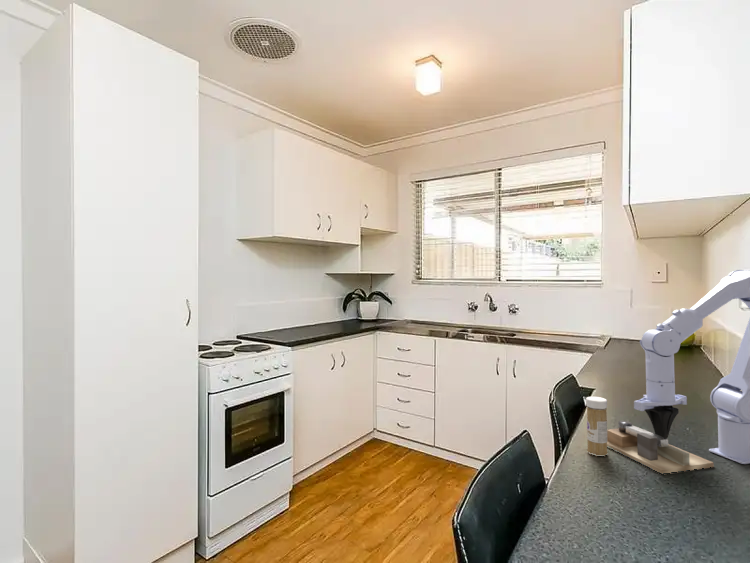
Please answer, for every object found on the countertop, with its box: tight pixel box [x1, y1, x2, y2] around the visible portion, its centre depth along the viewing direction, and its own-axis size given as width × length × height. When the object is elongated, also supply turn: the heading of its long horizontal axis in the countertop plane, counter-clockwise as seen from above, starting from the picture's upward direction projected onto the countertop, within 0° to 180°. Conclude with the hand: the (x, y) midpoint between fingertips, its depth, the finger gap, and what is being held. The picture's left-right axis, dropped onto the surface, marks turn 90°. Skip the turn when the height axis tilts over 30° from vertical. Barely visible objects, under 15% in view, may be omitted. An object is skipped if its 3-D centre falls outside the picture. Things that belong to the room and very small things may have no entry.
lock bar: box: [618, 420, 669, 447], centre depth 103 cm, size 12×3×2 cm, turn 14°
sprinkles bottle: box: [585, 396, 609, 455], centre depth 103 cm, size 5×5×14 cm
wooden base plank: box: [607, 427, 715, 474], centre depth 102 cm, size 14×18×6 cm
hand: (661, 437), depth 102 cm, fingers closed
